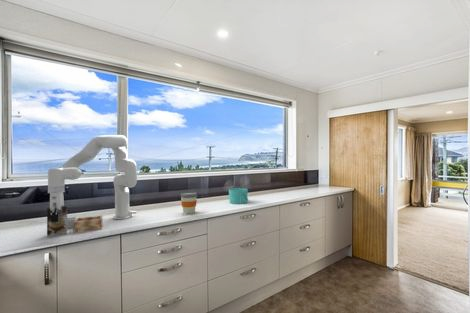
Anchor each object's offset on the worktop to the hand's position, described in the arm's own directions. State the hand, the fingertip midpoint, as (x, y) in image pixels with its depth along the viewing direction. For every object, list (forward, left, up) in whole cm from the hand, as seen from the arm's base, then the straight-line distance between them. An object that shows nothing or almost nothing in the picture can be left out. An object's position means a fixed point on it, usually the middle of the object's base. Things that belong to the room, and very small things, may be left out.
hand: (56, 219), depth 130 cm
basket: (-134, -31, -9) cm, 137 cm away
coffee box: (0, -1, -9) cm, 9 cm away
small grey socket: (-4, -16, -9) cm, 19 cm away
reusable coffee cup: (-81, -15, -9) cm, 83 cm away
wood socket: (-15, -5, -9) cm, 18 cm away
